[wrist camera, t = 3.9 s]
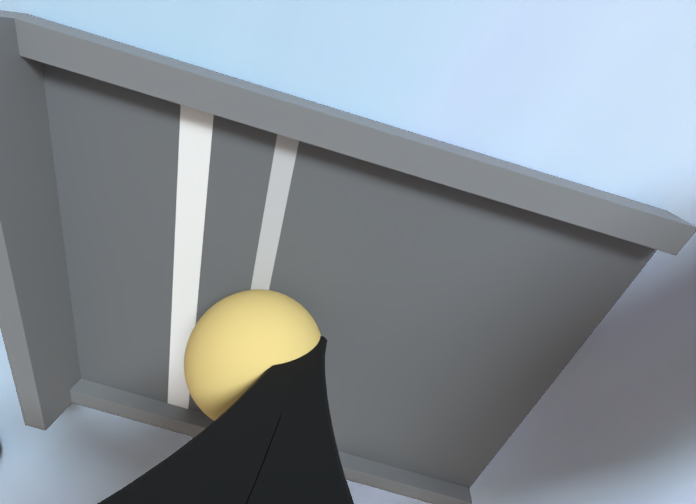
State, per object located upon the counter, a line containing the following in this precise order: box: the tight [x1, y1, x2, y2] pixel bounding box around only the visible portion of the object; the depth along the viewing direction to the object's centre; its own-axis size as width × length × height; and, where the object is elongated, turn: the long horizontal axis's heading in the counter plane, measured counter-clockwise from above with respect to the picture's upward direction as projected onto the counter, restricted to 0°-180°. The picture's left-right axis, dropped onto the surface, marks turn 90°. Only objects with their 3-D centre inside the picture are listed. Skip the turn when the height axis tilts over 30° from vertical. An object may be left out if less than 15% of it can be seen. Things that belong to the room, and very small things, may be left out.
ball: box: [184, 289, 321, 421], centre depth 11 cm, size 4×4×4 cm
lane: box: [0, 10, 696, 504], centre depth 12 cm, size 18×14×2 cm
